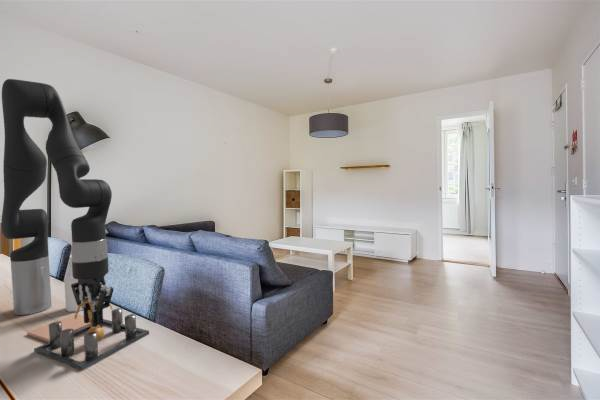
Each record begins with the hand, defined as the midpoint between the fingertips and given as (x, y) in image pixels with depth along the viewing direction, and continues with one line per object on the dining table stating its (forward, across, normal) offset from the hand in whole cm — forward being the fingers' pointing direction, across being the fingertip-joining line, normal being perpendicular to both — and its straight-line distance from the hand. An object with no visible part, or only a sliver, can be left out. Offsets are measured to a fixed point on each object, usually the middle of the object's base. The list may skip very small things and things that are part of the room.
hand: (93, 322), depth 76 cm
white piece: (+6, -27, +12) cm, 30 cm away
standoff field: (+5, 0, 0) cm, 5 cm away
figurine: (+5, -1, 0) cm, 5 cm away
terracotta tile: (+5, -16, +2) cm, 17 cm away
